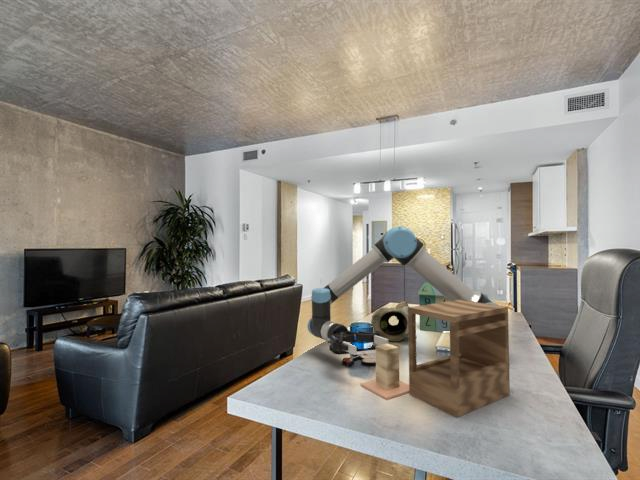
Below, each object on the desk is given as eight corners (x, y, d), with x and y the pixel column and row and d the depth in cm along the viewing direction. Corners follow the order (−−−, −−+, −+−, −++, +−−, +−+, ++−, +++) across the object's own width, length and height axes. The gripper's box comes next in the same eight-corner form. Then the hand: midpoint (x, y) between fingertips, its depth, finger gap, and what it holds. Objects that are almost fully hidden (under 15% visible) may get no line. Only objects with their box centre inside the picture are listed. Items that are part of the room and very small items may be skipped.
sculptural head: (377, 304, 180) (359, 307, 158) (417, 299, 171) (404, 300, 149) (382, 339, 176) (365, 346, 155) (424, 335, 167) (411, 342, 145)
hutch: (461, 377, 114) (460, 299, 114) (509, 395, 100) (508, 306, 100) (409, 394, 101) (408, 307, 101) (456, 417, 87) (454, 316, 88)
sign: (383, 339, 155) (419, 361, 126) (383, 343, 155) (420, 366, 126) (326, 345, 148) (350, 369, 119) (326, 349, 148) (350, 374, 119)
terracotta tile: (388, 377, 114) (388, 375, 114) (416, 390, 104) (416, 388, 104) (360, 385, 108) (360, 383, 108) (386, 400, 98) (386, 397, 98)
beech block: (388, 381, 109) (387, 343, 110) (399, 386, 105) (398, 347, 105) (376, 384, 107) (375, 346, 107) (387, 390, 103) (386, 350, 103)
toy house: (459, 327, 180) (458, 270, 180) (453, 334, 166) (452, 272, 167) (426, 324, 189) (425, 269, 190) (417, 330, 175) (416, 271, 176)
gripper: (361, 338, 137) (400, 351, 119) (306, 348, 123) (341, 366, 105) (360, 319, 137) (399, 329, 119) (306, 327, 124) (340, 341, 106)
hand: (372, 347), depth 112 cm, fingers open, 13 cm apart
